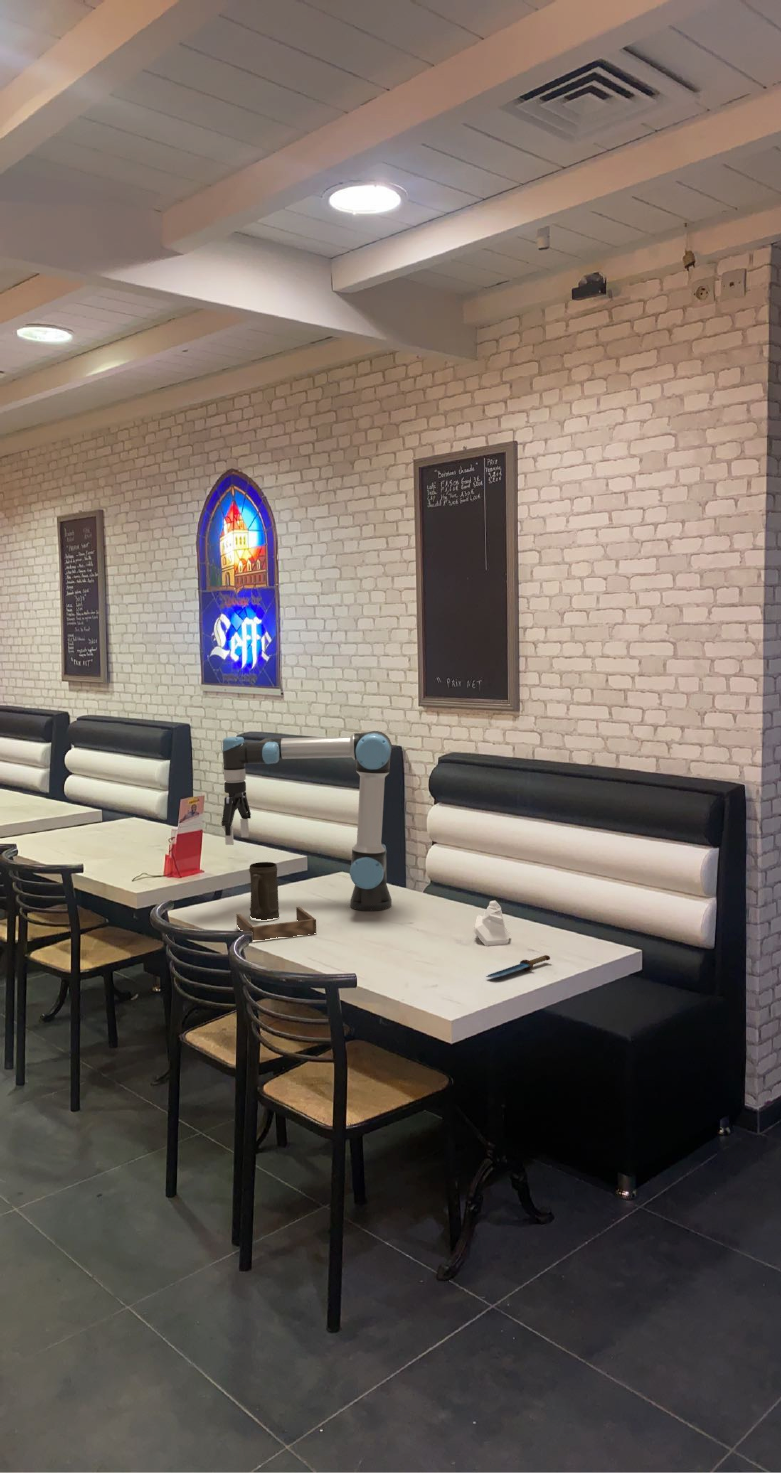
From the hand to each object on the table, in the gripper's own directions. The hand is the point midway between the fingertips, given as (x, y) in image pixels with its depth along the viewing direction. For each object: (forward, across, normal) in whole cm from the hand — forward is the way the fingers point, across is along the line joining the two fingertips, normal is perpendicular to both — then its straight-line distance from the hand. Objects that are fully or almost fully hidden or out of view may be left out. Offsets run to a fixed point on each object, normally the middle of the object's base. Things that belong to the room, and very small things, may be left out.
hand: (237, 840), depth 365 cm
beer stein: (+28, +3, +10) cm, 29 cm away
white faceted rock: (+28, +10, +92) cm, 96 cm away
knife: (+28, +41, +105) cm, 116 cm away
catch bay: (+27, +16, +20) cm, 37 cm away
